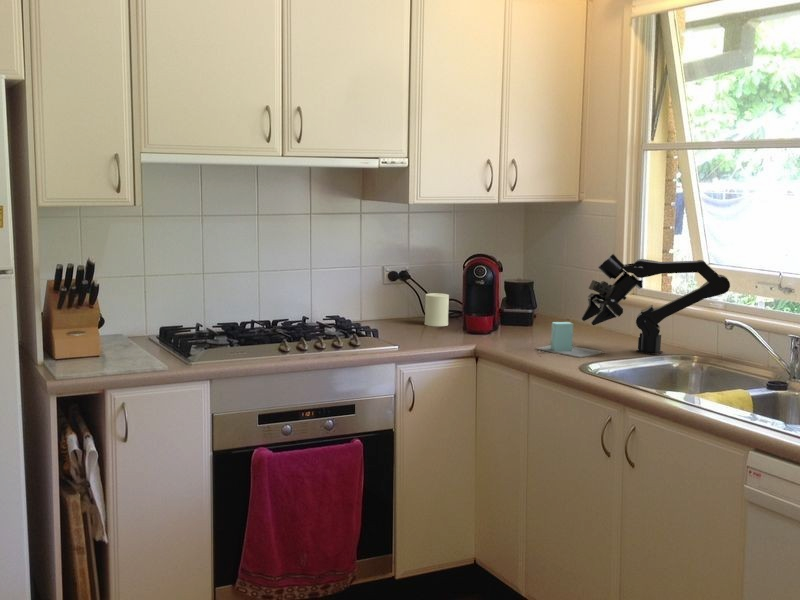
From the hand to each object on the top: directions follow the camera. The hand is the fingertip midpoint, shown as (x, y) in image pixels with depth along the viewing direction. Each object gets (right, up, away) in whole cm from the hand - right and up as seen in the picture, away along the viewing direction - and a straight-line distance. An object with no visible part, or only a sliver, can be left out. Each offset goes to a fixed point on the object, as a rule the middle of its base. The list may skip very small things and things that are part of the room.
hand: (587, 322), depth 301 cm
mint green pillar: (-9, -9, 0) cm, 13 cm away
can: (-48, -2, +48) cm, 68 cm away
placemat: (-6, -10, 0) cm, 11 cm away
